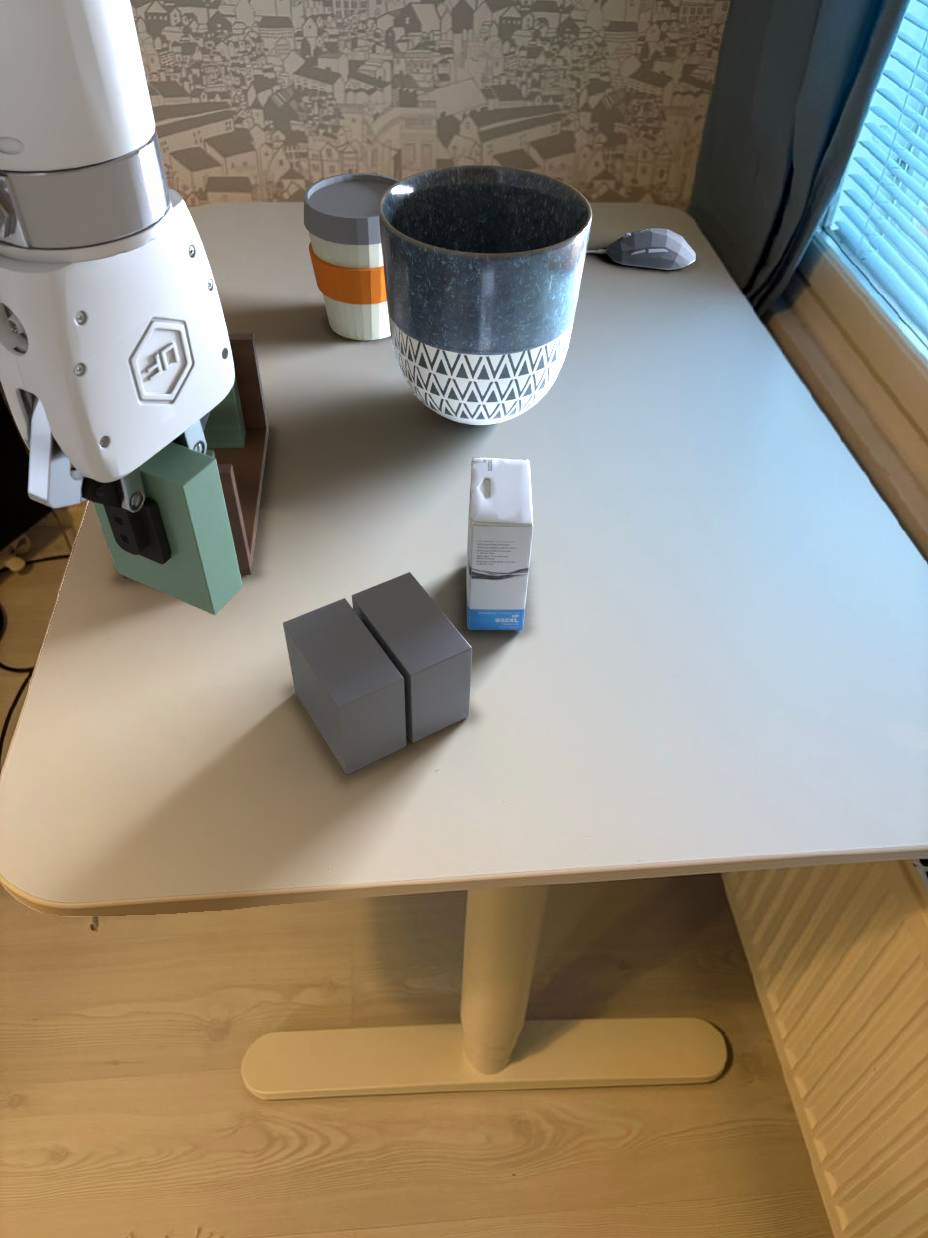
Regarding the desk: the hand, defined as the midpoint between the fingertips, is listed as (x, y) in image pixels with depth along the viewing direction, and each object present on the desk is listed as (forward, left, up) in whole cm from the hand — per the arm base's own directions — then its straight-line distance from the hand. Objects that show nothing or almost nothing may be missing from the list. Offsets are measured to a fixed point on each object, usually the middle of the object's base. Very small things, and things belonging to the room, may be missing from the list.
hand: (166, 532), depth 49 cm
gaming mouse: (+78, +50, -23) cm, 95 cm away
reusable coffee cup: (+38, +53, -23) cm, 69 cm away
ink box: (+26, +6, -23) cm, 35 cm away
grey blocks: (+12, 0, -23) cm, 26 cm away
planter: (+40, +31, -23) cm, 55 cm away
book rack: (+9, +31, -23) cm, 39 cm away
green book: (0, 0, -4) cm, 4 cm away
